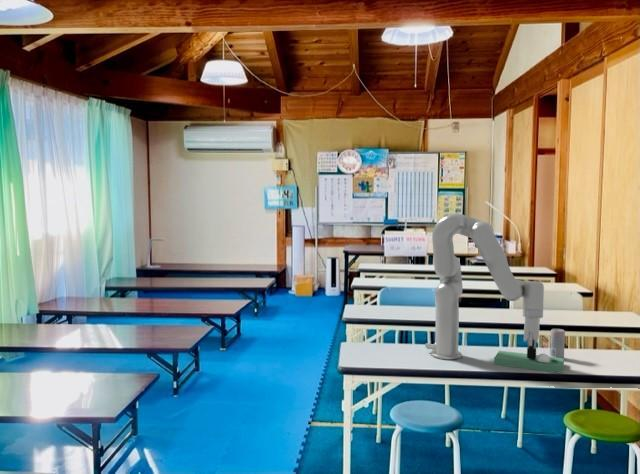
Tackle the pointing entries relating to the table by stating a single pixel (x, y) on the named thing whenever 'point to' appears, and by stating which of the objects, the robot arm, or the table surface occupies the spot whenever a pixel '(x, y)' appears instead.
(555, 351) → the energy drink
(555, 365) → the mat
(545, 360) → the ball
